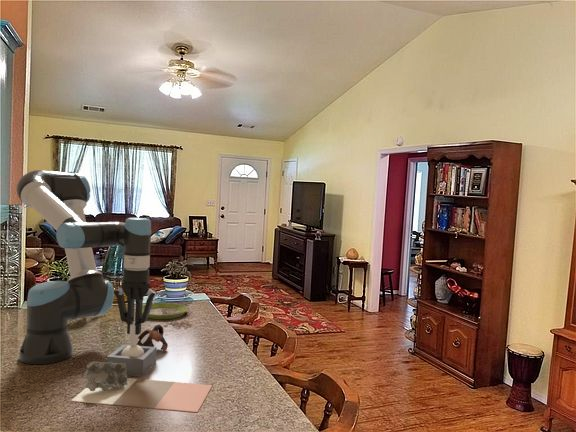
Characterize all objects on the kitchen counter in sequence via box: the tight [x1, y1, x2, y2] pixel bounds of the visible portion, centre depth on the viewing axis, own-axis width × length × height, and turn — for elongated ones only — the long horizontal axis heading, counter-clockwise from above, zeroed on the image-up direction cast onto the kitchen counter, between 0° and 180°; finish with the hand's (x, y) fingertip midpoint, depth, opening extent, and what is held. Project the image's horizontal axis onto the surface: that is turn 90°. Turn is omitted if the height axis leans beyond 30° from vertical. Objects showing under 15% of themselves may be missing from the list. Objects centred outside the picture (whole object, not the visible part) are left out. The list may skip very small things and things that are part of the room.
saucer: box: [142, 302, 188, 320], centre depth 198 cm, size 21×21×3 cm
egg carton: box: [84, 360, 128, 391], centre depth 123 cm, size 11×8×4 cm
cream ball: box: [121, 345, 144, 357], centre depth 138 cm, size 7×7×7 cm
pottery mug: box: [136, 324, 168, 353], centre depth 154 cm, size 12×9×8 cm
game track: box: [70, 377, 213, 414], centre depth 122 cm, size 33×16×1 cm, turn 86°
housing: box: [106, 344, 158, 377], centre depth 138 cm, size 11×11×5 cm
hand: (133, 344), depth 138 cm, fingers closed
